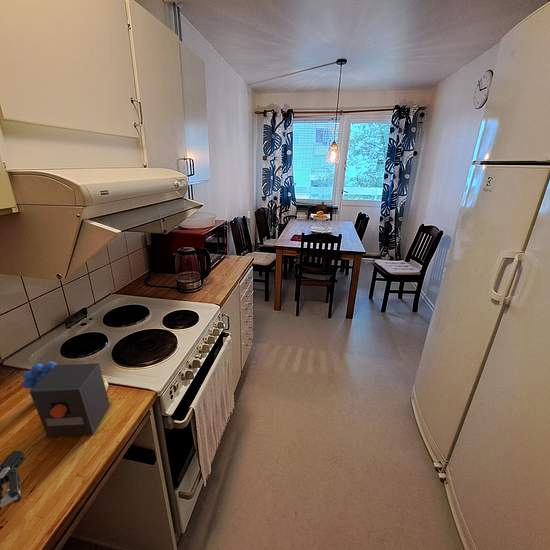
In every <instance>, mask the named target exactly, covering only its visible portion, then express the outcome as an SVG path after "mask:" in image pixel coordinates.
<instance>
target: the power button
mask: <svg viewBox="0 0 550 550" xmlns="http://www.w3.org/2000/svg"><path fill="white" fill-rule="evenodd" d="M66 411H67V408H66V406H64V405H62V404H57V405H55V406H54V407H53V408H52V410H51V411H50V414H51V416H53V417H55V418H61V417H63V415H64V414H65V413H66Z"/></svg>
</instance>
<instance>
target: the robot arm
mask: <svg viewBox="0 0 550 550" xmlns="http://www.w3.org/2000/svg"><path fill="white" fill-rule="evenodd" d="M24 461H25V453H24V451H23V450H13V451H12V452H11V453H9V455H7V456H6V458H5V459H4V460H3V461H2V462H1V463H0V512H1V510H2V509H3V508H4V507H5V506H7V505H9V504H10V503H12V502H13V503H14V504H17V503H19V502H20V501H21V500H22V498H23V496H22V484H21V481H22V480H21V477H20V474H19V472H18V468H19V467H20V466H21V465H22V464H23V462H24ZM7 487H8V488H7Z"/></svg>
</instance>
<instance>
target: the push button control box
mask: <svg viewBox="0 0 550 550" xmlns="http://www.w3.org/2000/svg"><path fill="white" fill-rule="evenodd" d="M103 378H104V376H103V373H102V370H101V366H100V363H77V364H76V363H72V364H57V365H55V366H54V367H53V368H52V369H51V370H50V371H49V372H48V373H47V374H46V375H45V376H44V377H43V378H42V379H41V380H40V381H39V382H38V383H37V385H36V386H35V387H34V388H33V389H32V390H31V389H30V390H29V394H30V397H31V399H32V402H33V404H34V407H35V409H36V411H37V414H38V417H39V419H40V422H41V424H42V427H43V429H44V432H45V434H46V437H47V438H50V437H51V438H53V437H54V438H55V437H69V436H87V435H88V436H89V435H94V434H95V432H96V431H97V428H98V427H99V425H100V423H101V422H102V420H103V419H104V416H105V415H106V413H107V411H108V409H109V408H110V405H111V404H110V399H109V396H108V392H107V391H106V388H105V384H104V381H103ZM57 404H62V405H64V406H66V408H67V411H66V413H65V414H64V415H63V417H61V418H55V417H53V416H51V414H50V411H51V410H52V408H53V407H54V406H55V405H57Z"/></svg>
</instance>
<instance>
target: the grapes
mask: <svg viewBox="0 0 550 550" xmlns="http://www.w3.org/2000/svg"><path fill="white" fill-rule="evenodd" d="M55 365H58V364H57V362H55V361H47V362H46V363H45V364H42V363H35V364H33V365H32V366H31V370H26V371H24V372H23V373H22V378H23V379H24V380H23V381H22V382H21V385H22V388H24V389H30V391H31V390H32V389H33V388H34V387H35V386H36V385H37V383H38V382H39V381H40V380H41V379H42V378H43V377H44V376H45V375H46V374H47V373H48V372H49V371H50V370H51V369H52V368H53V367H54V366H55Z"/></svg>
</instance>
